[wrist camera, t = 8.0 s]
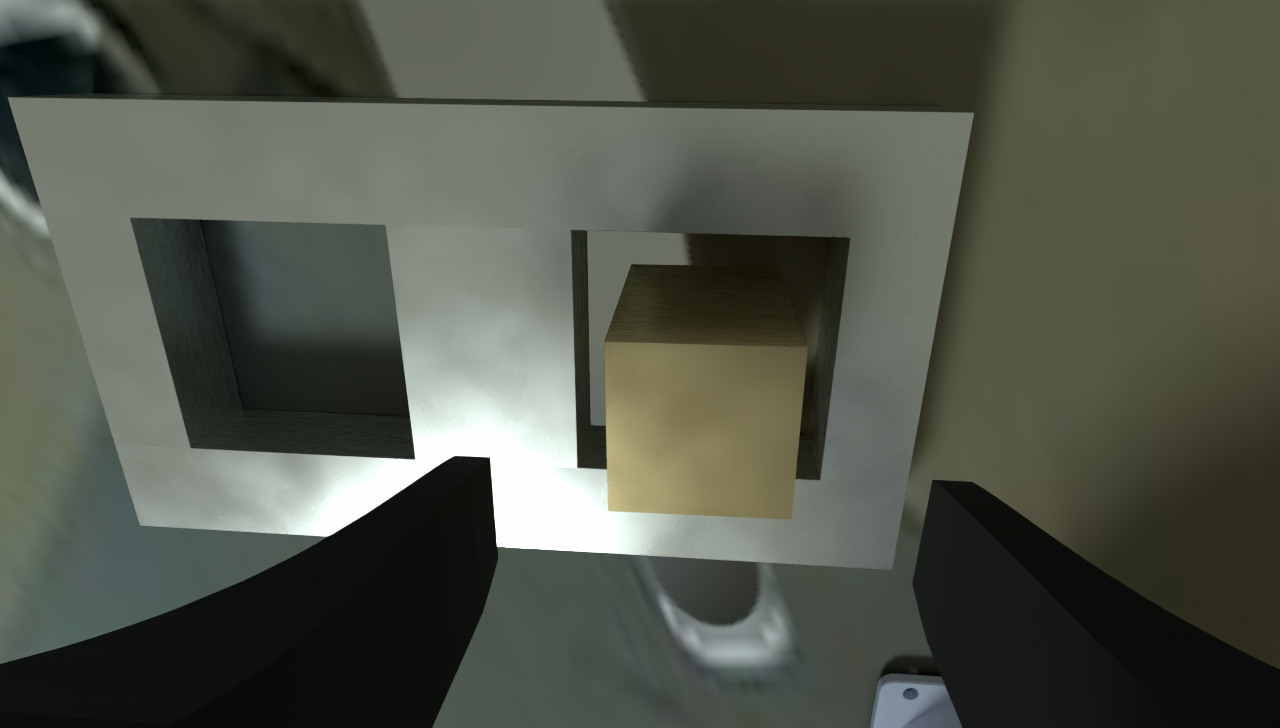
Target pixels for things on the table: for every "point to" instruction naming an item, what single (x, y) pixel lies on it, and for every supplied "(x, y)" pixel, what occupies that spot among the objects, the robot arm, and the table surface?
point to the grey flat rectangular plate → (492, 296)
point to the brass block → (704, 392)
